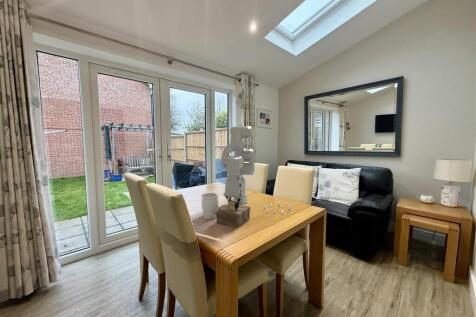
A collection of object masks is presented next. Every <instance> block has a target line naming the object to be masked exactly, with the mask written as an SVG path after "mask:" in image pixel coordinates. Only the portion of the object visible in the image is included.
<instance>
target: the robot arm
mask: <svg viewBox="0 0 476 317" xmlns="http://www.w3.org/2000/svg"><path fill="white" fill-rule="evenodd" d="M253 129H254V128H253V127H252V126H251V125H248V126H247V125H245V126H244V125H243V126H242V125H241V126H236V125H235V126H231V127H230V129H229V133H230V134H229V135H230V139H229V140H230V141H229V142H230V143H229V144H227V145H226V146H225V147H224V148H223V149H222V153H221V157H220V158H221V159H220V164H221V166H222V168H224V169H225V168H226V181H225V185H224V186H225V188H224V192H223V197H224V198H225V199H226V200H227V203H228V204H227V205H228V207H229V201H231V200H236V203H235V209H237V208H239V205H245V204H247V203H248V200H247V199H246V198H248V195H247V194H246V178H245V177H244V176H252V175H254V174H255V167H256V166H255V160H256V159H255V152H254V150H253V149H252V148H246V146H245V145H246V144H245V143H246V142H245V140H244V139H251V138H253V134H254V130H253ZM231 153H233V155H229V154H231ZM232 198H233V199H232Z"/></svg>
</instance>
